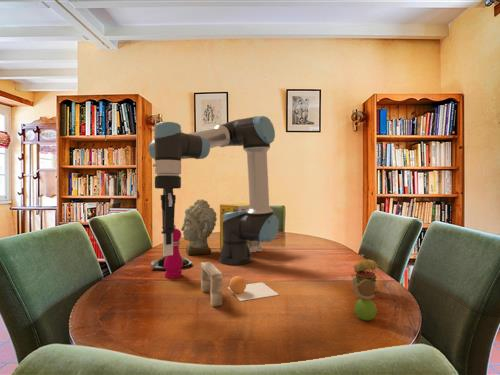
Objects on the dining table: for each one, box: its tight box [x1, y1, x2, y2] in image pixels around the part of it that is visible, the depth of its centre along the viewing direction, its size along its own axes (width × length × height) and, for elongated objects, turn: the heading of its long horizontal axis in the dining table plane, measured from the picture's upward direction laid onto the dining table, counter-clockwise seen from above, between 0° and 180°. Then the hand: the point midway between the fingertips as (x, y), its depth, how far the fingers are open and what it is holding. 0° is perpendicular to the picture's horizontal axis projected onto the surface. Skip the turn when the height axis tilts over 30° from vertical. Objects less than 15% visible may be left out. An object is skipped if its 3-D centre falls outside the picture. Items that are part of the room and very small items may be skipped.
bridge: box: [200, 261, 223, 307], centre depth 92 cm, size 3×14×9 cm, turn 22°
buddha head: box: [180, 199, 218, 256], centre depth 155 cm, size 17×19×28 cm
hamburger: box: [353, 253, 379, 294], centre depth 97 cm, size 8×7×12 cm
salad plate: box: [150, 256, 193, 272], centre depth 131 cm, size 19×18×5 cm
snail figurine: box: [351, 273, 378, 321], centre depth 76 cm, size 5×6×12 cm
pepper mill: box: [164, 224, 183, 279], centre depth 114 cm, size 7×7×20 cm
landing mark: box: [227, 281, 280, 302], centre depth 97 cm, size 13×13×1 cm
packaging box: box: [219, 203, 263, 253], centre depth 159 cm, size 16×16×25 cm
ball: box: [228, 275, 247, 294], centre depth 95 cm, size 6×6×6 cm
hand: (168, 254), depth 87 cm, fingers closed
